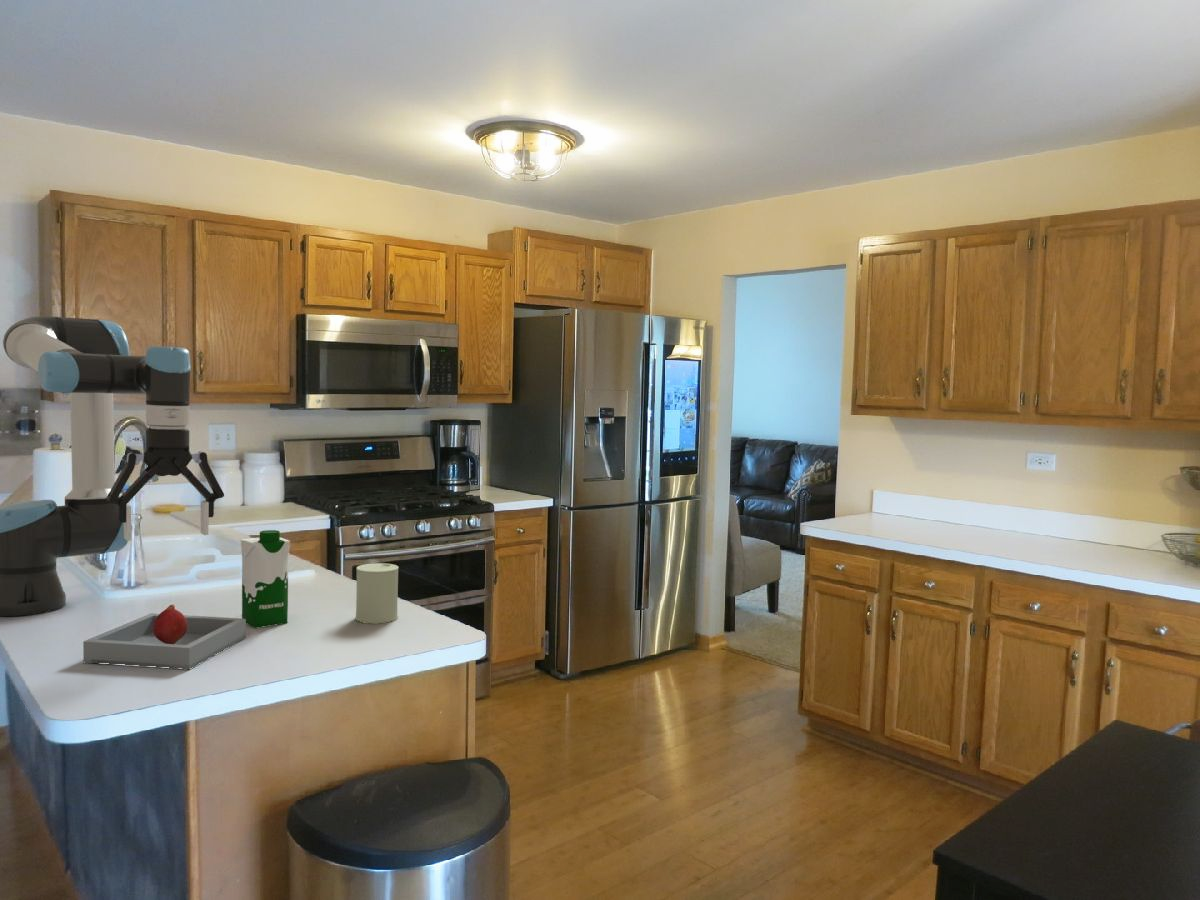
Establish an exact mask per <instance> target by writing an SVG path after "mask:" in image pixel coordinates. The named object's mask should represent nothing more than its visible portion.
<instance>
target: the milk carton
mask: <svg viewBox="0 0 1200 900" xmlns="http://www.w3.org/2000/svg"><path fill="white" fill-rule="evenodd" d="M280 532H281V531H280V530H275V529H274V530H271V529H269V530H267V529H266V530H260V531H259V537H253V538H252V537H251V538H241V539H240V545H241V562H242V563H241V569H242V570H241V619H246V625H249V626H250V625H251V626H250V627H252V626H253V627H252V628H254V627H255V629H258V628H257V627H259V628H264V627H263V626H265V627H270V626H269V625H271V626H276V625H275V624H277V625H282V624H281V623H283V624H287V623H288V619H289V618H288V612H289V610H288V609H289V556H290V555H289V553H290V545H291V540H288V539H285V538H283V537H281V536H280V535H281V533H280Z"/></svg>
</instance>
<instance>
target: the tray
mask: <svg viewBox="0 0 1200 900" xmlns="http://www.w3.org/2000/svg"><path fill="white" fill-rule="evenodd" d="M159 614H160V613H156V612H155V613H153V612H151V613H148V614H147V615H144V616H141V617H139V618H137V619H134V620H132V621H130V622H126V623H125V624H122V625H119V626H117V627H114V628H112V629H110V630H107V631H105V632H103V633H100V634H97V635H95V636H92V637H91V638H88V639H85V640H84V641H83V650H82V651H83V663H84V662H85V663H84V664H88V663H109V664H125V665H139V666H156V667H169V668H182V669H190V668H192V667H194V666H196V665H198V664H199V663H201V662H203V661H205V660H206V661H208V660H209V659H208V658H210V657H212V656H213V657H215V656H216V655H215V654H217V653H219V652H221V651H222V652H224V651H225V650H224V649H226V648H228V647H229V648H231V647H233V646H234V644H235V643H237V642H238V643H240V642H242V641H243V639H244V638H245V639H247V638H246V637H247V635H246V634H247V632H246V631H247V630H246V629H247V623H246V619H242V617H241V618H238V617H224V616H223V617H221V616H206V615H205V616H204V615H203V616H201V615H189V614H187V615H186V614H183V615H184V616H185V618H186V621H187V631H186V633H185V635H184V636H183V637H182V638H181V639H179V640H178V641H177V642H176V643H175V644H165V643H163V642H161V641H159V640H158V639H157V638H156V637H155V635H154V632H153V626H154V622H155V619H156V618H157V616H158V615H159ZM245 639H244V640H245ZM241 640H242V641H241ZM239 641H240V642H239ZM238 643H237V644H238ZM232 645H233V646H232ZM235 645H236V644H235ZM230 646H231V647H230ZM229 648H228V649H229ZM223 650H224V651H223ZM226 650H227V649H226ZM222 652H221V653H222ZM219 654H220V653H219ZM214 655H215V656H214ZM217 655H218V654H217ZM213 657H212V658H213ZM207 659H208V660H207ZM210 659H211V658H210ZM206 661H205V662H206ZM203 663H204V662H203ZM201 664H202V663H201ZM199 665H200V664H199ZM199 665H198V666H199ZM196 667H197V666H196ZM194 668H195V667H194ZM192 669H193V668H192ZM190 670H191V669H190Z"/></svg>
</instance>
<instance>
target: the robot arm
mask: <svg viewBox="0 0 1200 900" xmlns="http://www.w3.org/2000/svg"><path fill="white" fill-rule="evenodd" d="M123 329H124V328H122V326H121V325H119V324H118V323H117V322H114V321H111V320H110V321H108V320H105V319H104V320H102V319H99V318H98V319H97V318H94V319H93V318H82V317H81V318H78V317H63V316H62V317H61V316H51V315H37V316H30V317H27V318H24V319H21V320H19V321H16V322H14V323H13V324H12V325H11V326H10V327H9V328H8V329H7V330H6V332H5V333H4V335H3V339H2V347H3V350H4V352H5V354H6V356H7V357H8V358H9V360H11V361H12V362H13V363H15V364H17V365H19V366H20V367H23V368H27V369H34V370H35V371H36V372H37V374H38V376H37V377H38V381H39V383H40V387H41V388H42V390H44V391H45V392H50V393H51V392H52V393H60V394H69V397H70V398H69V399H70V400H69V401H70V404H69V405H70V434H71V435H70V441H71V442H70V443H71V445H70V446H71V447H70V448H71V450H70V451H71V486H72V487H71V490H70V491H69V492H68V493H67V494H66V495H65V496H64V504H63V505H57V503H56V501H55V500H53V499H40V500H36V499H35V500H29V501H21V502H16V503H12V504H8V505H4V506H2V507H0V617H16V616H19V617H20V616H27V615H29V616H30V615H36V614H42V613H48V612H51V611H52V612H53V611H56V610H58V609H61V608H64V607H65V606H66V605H67V601H66V600H67V598H66V596H67V595H66V592H65V591H64V589H63V585H62V582H61V580H60V577H59V574H58V571H57V559H58V558H59V559H60V558H66V557H67V558H69V557H77V556H86V555H97V554H100V555H105V554H107V553H114V552H119V551H121V550H123V549H124V548H125V547H126V546H127V544H129V543H128V542H130V541H132V532H133V527H134V526H132V525H131V507H132V505H131V504H130V502H131V500H132V499H133V498H134V497H135V496H136V495H137V494H138V493H139V491H141V489H142V488H144V486H145V485H146V484H147V483H148V482H149V480H151V479H152V478H153V477H154V476H155V475H156V476H158V477H166V476H171V477H173V476H174V477H176V476H177V477H178V476H179V475H182V476H183V477H184V478H185V479H186V480H187V482H189V483H190V485H192V486H193V487H194V489H195V490H196V491H197V492H199V494H200V495H201V496H202V497H203V498H204V500H201V501H200V533H201V535H203V536H208V535H209V518H213V517H214V516H215V513H214V511H215V502H216V500H218V499H222V498H224V497H225V493H224V491H223V489H222V487H221V485H220V484H219V481H218V480H217V478H216V476H215V473H214V472H213V470H212V469H211V466H210V465H209V461H208V455H207V453H206V452H205V451H201V450H200V451H198V452H194V453H191V452H190V430H189V428H187V427H189V426H190V398H191V397H190V395H191V394H190V393H191V392H190V391H191V386H190V385H191V369H192V366H191V360H190V359H191V357H190V355H191V354H190V352H189V350H188V349H187V348H186V347H176V346H174V347H173V346H172V347H171V346H157V345H156V346H155V345H153V346H151V345H150V346H148V347H147V348H146V352H145V355H130V354H131V352H130V346H129V342H128V338H127V336H126V333H125V331H124V330H123ZM114 394H117V395H118V394H120V395H122V394H123V395H145V425H146V426H149V427H147V428H146V430H145V450H144V453H143V454H142V453H134V452H131V451H130V452H127V454H126V455H125V464H124V466H123V467H122V469H121V471H120V473H119V475H118V476H117V477H116V465H115V463H116V461H115V417H114V416H115V415H114V413H115V412H114V409H115V408H114ZM192 460H193V461H194V463H196V464H198V466H199V468H200V470H201V472H202V474H203V475H204V478H205V479H206V481H207V483H208V485H209V487H210V489H211V491H212V492H210V491H209V490H208V489H207V488H206V486H205V485H204V484H203V483H202V482H201V481H200V480H199V479H198V478H197V476H195V474H193V472H192V471H191V470H190V469H189V468H188V465H189V463H190V462H191V461H192ZM141 461H143V462H144V463H145V465H146V466H147V467H146V468H145V469H144V470H143V471H142V472H141V474H140V475H139V476H138V477H137V478H136V479H135V480H134V481H133V483H132V484H131V485H130V486H129V487H128V488H127V489H126V490H125V491H124V492H123V493H122V491H123V489H124V488H125V486H126V484H127V482H128V480H129V478H130V477H131V475H132V473H133V472H134V469H135V468H136V466H138V465H140V462H141ZM127 503H129V504H130V505H131V506H130V505H129V504H127ZM132 508H133V507H132Z"/></svg>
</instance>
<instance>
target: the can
mask: <svg viewBox="0 0 1200 900" xmlns="http://www.w3.org/2000/svg"><path fill="white" fill-rule="evenodd" d="M399 567H400V566H398V565H397V564H393V563H381V562H378V563H377V562H376V563H366V564H361V565H358V566H357V567H356V570H355V571H356V599H355V600H356V605H355V607H356V608H355V609H356V610H355V621H356V620H357V621H356V622H358V621H360V622H359V623H361V622H365V623H364V624H368V623H381V624H386V623H385V622H388V623H391V621H392V622H395V621H396V620H397V619H398V618H399V616H398V614H399V613H398V597H399V596H398V594H399V593H398V592H399V590H398V589H399V588H398V587H399V586H398V585H399Z"/></svg>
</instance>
